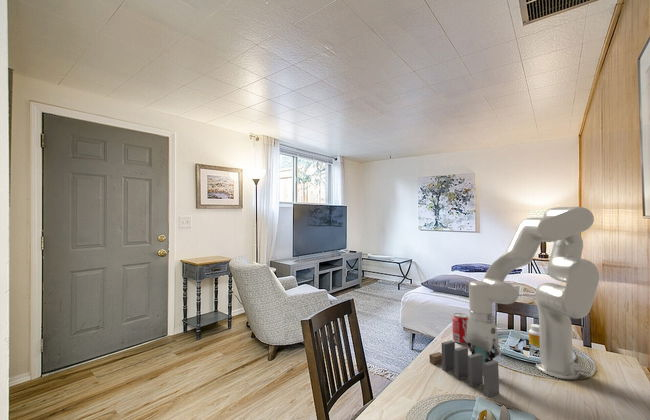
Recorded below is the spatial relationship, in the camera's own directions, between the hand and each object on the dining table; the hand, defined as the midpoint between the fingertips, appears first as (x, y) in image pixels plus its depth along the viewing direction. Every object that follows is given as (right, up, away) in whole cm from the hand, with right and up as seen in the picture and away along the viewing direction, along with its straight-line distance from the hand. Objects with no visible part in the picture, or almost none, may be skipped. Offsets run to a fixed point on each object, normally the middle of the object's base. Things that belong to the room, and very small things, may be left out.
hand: (482, 365), depth 109 cm
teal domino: (0, -3, 0) cm, 3 cm away
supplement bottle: (+33, -3, +18) cm, 38 cm away
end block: (-14, -3, +8) cm, 16 cm away
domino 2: (-9, -3, -3) cm, 10 cm away
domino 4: (-4, -2, -14) cm, 14 cm away
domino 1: (-11, -3, +2) cm, 12 cm away
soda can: (+4, -3, +26) cm, 27 cm away
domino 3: (-7, -2, -8) cm, 11 cm away
